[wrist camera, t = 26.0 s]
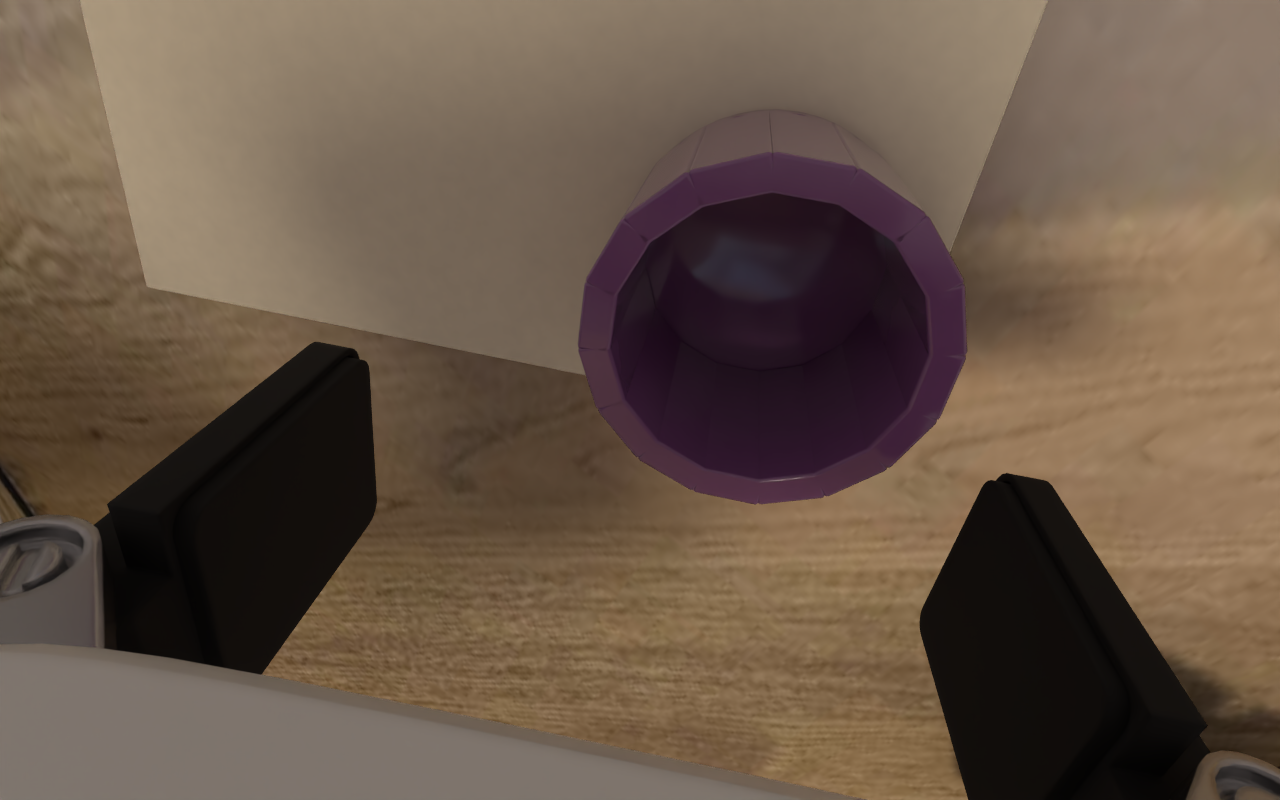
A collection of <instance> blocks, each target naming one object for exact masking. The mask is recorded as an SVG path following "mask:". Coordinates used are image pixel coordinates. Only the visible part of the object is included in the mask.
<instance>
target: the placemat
mask: <svg viewBox="0 0 1280 800" xmlns="http://www.w3.org/2000/svg"><path fill="white" fill-rule="evenodd" d="M1047 3H1048V0H80V5H81V9H82V13H83V17H84V22H85V26H86V30H87V34H88V39H89V43H90V47H91V52H92V56H93V60H94V64H95V69H96V73H97V77H98V81H99V86H100V90H101V94H102V98H103V103H104V107H105V111H106V115H107V120H108V124H109V128H110V132H111V137H112V141H113V145H114V149H115V154H116V158H117V162H118V166H119V171H120V175H121V179H122V183H123V188H124V192H125V196H126V200H127V205H128V209H129V213H130V217H131V222H132V226H133V230H134V234H135V239H136V243H137V247H138V251H139V256H140V260H141V264H142V268H143V273H144V277H145V281H146V285H147V287H149V288H154V289H159V290H164V291H169V292H174V293H179V294H184V295H189V296H194V297H199V298H204V299H209V300H214V301H219V302H224V303H229V304H234V305H239V306H244V307H249V308H254V309H258V310H263V311H268V312H273V313H278V314H283V315H288V316H293V317H298V318H303V319H308V320H313V321H318V322H323V323H328V324H333V325H338V326H343V327H348V328H353V329H358V330H363V331H368V332H372V333H377V334H382V335H387V336H392V337H397V338H402V339H407V340H412V341H417V342H422V343H427V344H432V345H437V346H442V347H447V348H452V349H457V350H462V351H467V352H472V353H477V354H482V355H487V356H491V357H496V358H501V359H506V360H511V361H516V362H521V363H526V364H531V365H536V366H541V367H546V368H551V369H556V370H561V371H566V372H571V373H576V374H581V375H586V374H585V371H584V368H583V365H582V362H581V358H580V355H579V352H578V349H579V347H578V335H579V326H580V317H581V308H582V299H583V290H584V284H585V282H586V277H587V275H588V274H589V272H590V270H591V269H592V267H593V265H594V264H595V262H596V260H597V259H598V257H599V255H600V254H601V252H602V250H603V248H604V247H605V245H606V243H607V242H608V240H609V238H610V237H611V235H612V233H613V232H614V230H615V228H616V227H617V225H618V223H619V221H620V220H621V218H622V217H623V215H624V213H625V212H626V210H627V209H628V207H629V205H630V204H631V202H632V200H633V199H634V197H635V196H636V194H637V192H638V191H639V189H640V188H641V186H642V184H643V183H644V181H645V179H646V178H647V176H648V175H649V173H650V171H651V170H652V168H653V167H654V165H655V164H656V163H658V161H659V159H661V158H662V157H663V156H665V155H666V154H667V153H668V152H669V151H670V150H671V149H672V148H673V147H675V146H676V145H677V144H678V143H679V142H681V141H682V140H683V139H684V138H686V137H687V136H689V135H691V134H692V133H694V132H695V131H697V130H698V129H700V128H702V127H704V126H706V125H708V124H710V123H712V122H715V121H717V120H719V119H722V118H725V117H729V116H732V115H735V114H738V113H744V112H750V111H756V110H775V109H780V110H790V111H799V112H803V113H807V114H811V115H815V116H819V117H821V118H824V119H826V120H829V121H831V122H834V123H836V124H838V125H840V126H841V127H843V128H845V129H846V130H848V131H850V132H851V133H853V134H855V135H856V136H857V137H858V138H860V139H861V140H862V141H863V142H865V143H866V144H867V145H868V146H869V147H871V148H872V149H873V150H875V151H876V152H877V153H879V154H880V155H881V156H882V157H883V158H884V159H885V160H886V162H887V163H888V164H889V165H890V167H891V168H892V169H893V171H894V172H895V173H896V175H897V176H898V177H899V178H900V180H901V181H902V182H903V184H904V185H905V186H906V187H907V189H908V190H909V191H910V193H911V194H912V195H913V196H914V198H915V199H916V200H917V202H918V203H919V204H920V206H921V207H922V208H923V209H924V211H925V212H926V213H927V215H928V216H929V217H930V219H931V221H932V222H933V224H934V226H935V228H936V230H937V232H938V233H939V235H940V237H941V239H942V241H943V242H944V244H945V246H946V248H947V250H948V251H949V253H950V251H951V249H952V246H953V244H954V241H955V238H956V236H957V233H958V231H959V228H960V226H961V223H962V221H963V218H964V215H965V213H966V210H967V208H968V205H969V203H970V200H971V197H972V195H973V192H974V190H975V187H976V185H977V182H978V179H979V177H980V174H981V172H982V169H983V167H984V164H985V162H986V159H987V156H988V154H989V151H990V149H991V146H992V144H993V141H994V138H995V136H996V133H997V131H998V128H999V126H1000V123H1001V121H1002V118H1003V115H1004V113H1005V110H1006V108H1007V105H1008V103H1009V100H1010V97H1011V95H1012V92H1013V90H1014V87H1015V85H1016V82H1017V79H1018V77H1019V74H1020V72H1021V69H1022V67H1023V64H1024V62H1025V59H1026V56H1027V54H1028V51H1029V49H1030V46H1031V44H1032V41H1033V38H1034V36H1035V33H1036V31H1037V28H1038V26H1039V23H1040V21H1041V18H1042V15H1043V13H1044V10H1045V8H1046V5H1047Z"/></svg>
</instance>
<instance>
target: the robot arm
mask: <svg viewBox="0 0 1280 800" xmlns="http://www.w3.org/2000/svg"><path fill="white" fill-rule="evenodd" d="M376 504H377V494H376V477H375V459H374V442H373V425H372V408H371V391H370V373H369V366H368V364H367V362H366V361H365V360H360V359H359V356H358V354H357V351H355V350H354V349H352V348H347V347H342V346H336V345H331V344H326V343H321V342H314V343H312V344H310V345H309V346H307V347H306V348H305V349H304V350H302V351H301V352H300V353H298V354H297V355H296V356H295V357H293V358H292V359H291V360H290V361H288V362H287V363H286V364H284V365H283V366H282V367H281V368H279V369H278V370H277V371H276V372H274V373H273V374H272V375H271V376H269V377H268V378H267V379H265V380H264V381H263V382H262V383H260V384H259V385H258V386H257V387H255V388H254V389H253V390H251V391H250V392H249V393H248V394H246V395H245V396H244V397H243V398H241V399H240V400H239V401H237V402H236V403H235V404H234V405H232V406H231V407H230V408H229V409H227V410H226V411H225V412H224V413H222V414H221V415H220V416H218V417H217V418H216V419H215V420H213V421H212V422H211V423H210V424H208V425H207V426H206V427H204V428H203V429H202V430H201V431H199V432H198V433H197V434H196V435H194V436H193V437H192V438H190V439H189V440H188V441H187V442H185V443H184V444H183V445H182V446H180V447H179V448H178V449H177V450H175V451H174V452H173V453H171V454H170V455H169V456H168V457H166V458H165V459H164V460H163V461H161V462H160V463H159V464H157V465H156V466H155V467H154V468H152V469H151V470H150V471H149V472H147V473H146V474H145V475H143V476H142V477H141V478H140V479H138V480H137V481H136V482H135V483H133V484H132V485H131V486H130V487H128V488H127V489H126V490H124V491H123V492H122V493H121V494H119V495H118V496H117V497H116V498H114V499H113V500H112V501H110V502H109V503H108V504H107V505H108V508H109V512H110V513H108V514H107V515H106V516H105V517H103V518H102V519H101V520H100V521H98V522H97V523H96V524H95V525H92V524H91V523H89V522H88V521H87V520H84V519H80V518H77V517H73V516H69V515H41V516H33V517H25V518H20V519H17V520H13V521H9V522H6V523H2V524H0V800H866V799H861V798H856V797H852V796H847V795H842V794H838V793H833V792H828V791H824V790H819V789H814V788H810V787H805V786H800V785H796V784H791V783H786V782H782V781H777V780H772V779H768V778H763V777H758V776H754V775H749V774H744V773H739V772H735V771H730V770H725V769H720V768H716V767H711V766H706V765H701V764H697V763H692V762H687V761H682V760H677V759H673V758H668V757H663V756H658V755H654V754H649V753H644V752H639V751H634V750H630V749H625V748H620V747H615V746H611V745H606V744H601V743H596V742H591V741H586V740H582V739H577V738H572V737H567V736H562V735H558V734H553V733H548V732H543V731H538V730H534V729H529V728H524V727H519V726H514V725H509V724H505V723H500V722H495V721H490V720H485V719H480V718H475V717H470V716H465V715H460V714H455V713H451V712H446V711H441V710H436V709H431V708H426V707H421V706H416V705H411V704H406V703H401V702H396V701H391V700H386V699H382V698H377V697H372V696H367V695H362V694H357V693H352V692H347V691H342V690H337V689H332V688H327V687H322V686H317V685H312V684H308V683H303V682H298V681H292V680H287V679H281V678H276V677H271V676H265V675H261V674H262V673H263V672H264V670H265V669H266V667H267V666H268V665H269V663H270V662H271V660H272V659H273V658H274V656H275V655H276V653H277V652H278V651H279V649H280V648H281V646H282V645H283V644H284V642H285V641H286V639H287V638H288V637H289V635H290V634H291V632H292V631H293V630H294V628H295V627H296V626H297V624H298V623H299V621H300V620H301V619H302V617H303V616H304V614H305V613H306V612H307V610H308V609H309V607H310V606H311V605H312V603H313V602H314V600H315V599H316V598H317V596H318V595H319V593H320V592H321V591H322V589H323V588H324V586H325V585H326V584H327V582H328V581H329V579H330V578H331V577H332V575H333V574H334V572H335V571H336V570H337V568H338V567H339V565H340V564H341V563H342V561H343V560H344V558H345V557H346V556H347V554H348V553H349V551H350V550H351V549H352V547H353V546H354V545H355V543H356V542H357V540H358V539H359V538H360V536H361V535H362V533H363V532H364V531H365V529H366V528H367V526H368V525H369V523H370V522H371V520H372V518H373V516H374V513H375V509H376ZM920 632H921V636H922V640H923V643H924V647H925V650H926V654H927V657H928V661H929V664H930V668H931V671H932V675H933V678H934V682H935V685H936V689H937V692H938V696H939V699H940V702H941V706H942V709H943V713H944V716H945V720H946V723H947V727H948V730H949V734H950V737H951V741H952V744H953V748H954V751H955V755H956V758H957V762H958V765H959V769H960V772H961V776H962V779H963V783H964V786H965V790H966V793H967V797H968V800H1280V769H1278V768H1277V767H1275V766H1273V765H1271V764H1269V763H1268V762H1266V761H1263V760H1260V759H1258V758H1255V757H1252V756H1249V755H1247V754H1244V753H1240V752H1232V751H1224V750H1221V751H1217V752H1213V753H1210V751H1209V750H1208V748H1207V747H1206V745H1205V743H1204V742H1203V740H1202V739H1201V737H1200V734H1201V733H1202V731H1203V730H1204V729H1205V728H1206V727H1207V726H1208V725H1207V724H1206V722H1205V721H1204V719H1203V718H1202V716H1201V715H1200V713H1199V712H1198V710H1197V708H1196V707H1195V705H1194V704H1193V702H1192V701H1191V699H1190V698H1189V696H1188V695H1187V693H1186V692H1185V690H1184V688H1183V687H1182V685H1181V684H1180V682H1179V681H1178V679H1177V678H1176V676H1175V675H1174V673H1173V671H1172V670H1171V668H1170V667H1169V665H1168V664H1167V662H1166V661H1165V659H1164V658H1163V656H1162V655H1161V653H1160V651H1159V650H1158V648H1157V647H1156V645H1155V644H1154V642H1153V641H1152V639H1151V638H1150V636H1149V634H1148V633H1147V631H1146V630H1145V628H1144V627H1143V625H1142V624H1141V622H1140V621H1139V619H1138V618H1137V616H1136V614H1135V613H1134V611H1133V610H1132V608H1131V607H1130V605H1129V604H1128V602H1127V601H1126V599H1125V597H1124V596H1123V594H1122V593H1121V591H1120V590H1119V588H1118V587H1117V585H1116V584H1115V582H1114V581H1113V579H1112V577H1111V576H1110V574H1109V573H1108V571H1107V570H1106V568H1105V567H1104V565H1103V564H1102V562H1101V560H1100V559H1099V557H1098V556H1097V554H1096V553H1095V551H1094V550H1093V548H1092V547H1091V545H1090V544H1089V542H1088V540H1087V539H1086V537H1085V536H1084V534H1083V533H1082V531H1081V530H1080V528H1079V527H1078V525H1077V523H1076V522H1075V520H1074V519H1073V517H1072V516H1071V514H1070V513H1069V511H1068V510H1067V508H1066V507H1065V505H1064V503H1063V502H1062V500H1061V499H1060V497H1059V496H1058V494H1057V493H1056V491H1055V490H1054V488H1053V486H1052V485H1051V484H1050V483H1049V482H1047V481H1044V480H1040V479H1034V478H1029V477H1024V476H1019V475H1013V474H1008V473H1006V474H1002V475H1001V476H1000V477H999V478H998V479H997V480H996V481H993V480H990V481H987V482H986V483H985V484H984V485H983V487H982V488H981V490H980V492H979V494H978V496H977V499H976V501H975V503H974V505H973V507H972V509H971V511H970V513H969V515H968V517H967V519H966V521H965V523H964V525H963V527H962V529H961V531H960V533H959V535H958V537H957V539H956V541H955V543H954V545H953V547H952V549H951V551H950V553H949V555H948V557H947V559H946V561H945V563H944V565H943V567H942V569H941V571H940V573H939V575H938V577H937V579H936V581H935V584H934V586H933V588H932V590H931V592H930V594H929V596H928V598H927V600H926V602H925V604H924V606H923V608H922V611H921V615H920Z"/></svg>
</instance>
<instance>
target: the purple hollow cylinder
mask: <svg viewBox="0 0 1280 800" xmlns="http://www.w3.org/2000/svg"><path fill="white" fill-rule="evenodd" d="M578 347H579V349H578V352H579V355H580V358H581V362H582V365H583V368H584V371H585V374H586V377H587V381H588V384H589V387H590V390H591V393H592V396H593V400H594V403H595V406H596V408H597V409H598V411H599V413H600V414H601V415H602V417H603V418H604V419H605V420H606V421H607V423H608V424H609V425H610V426H611V427H612V429H613V430H614V431H615V432H616V433H617V435H618V436H619V437H620V438H621V439H622V441H623V442H624V443H625V444H626V445H627V447H628V448H629V449H630V450H631V451H632V453H633V454H634V455H635V456H636V457H638V458H639V460H640V461H642V462H644V463H645V464H647V465H649V466H651V467H652V468H654V469H656V470H657V471H659V472H661V473H663V474H664V475H666V476H668V477H669V478H671V479H673V480H675V481H676V482H678V483H680V484H681V485H683V486H685V487H687V488H688V489H690V490H693V489H694V491H695V492H698V493H703V494H708V495H712V496H717V497H722V498H727V499H732V500H736V501H741V502H746V503H751V504H757V503H759V504H768V503H778V502H787V501H797V500H807V499H816V498H823V497H824V495H825V496H830V495H832V494H834V493H836V492H839V491H841V490H843V489H845V488H848V487H850V486H852V485H854V484H857V483H859V482H861V481H863V480H866V479H868V478H870V477H872V476H874V475H877V474H879V473H881V472H883V471H885V470H886V469H887V468H889V467H891V466H892V465H893V464H894V463H895V462H896V461H897V460H898V459H899V458H900V457H902V456H903V455H904V454H905V453H906V452H907V451H908V450H909V449H910V448H911V447H912V446H913V445H914V444H915V443H916V442H917V441H918V440H919V439H920V438H921V437H922V436H923V435H924V434H925V433H927V432H928V431H929V430H930V429H931V428H932V427H933V426H934V425H935V424H936V422H937V419H939V418H940V416H941V414H942V412H943V410H944V407H945V405H946V403H947V400H948V398H949V396H950V394H951V391H952V389H953V387H954V384H955V382H956V380H957V378H958V375H959V373H960V371H961V369H962V366H963V364H964V362H965V359H966V356H965V355H966V353H967V325H966V293H965V285H964V279H963V277H962V275H961V273H960V271H959V270H958V268H957V266H956V264H955V262H954V261H953V259H952V257H951V255H950V253H949V251H948V250H947V248H946V246H945V244H944V242H943V241H942V239H941V237H940V235H939V233H938V232H937V230H936V228H935V226H934V224H933V222H932V221H931V219H930V217H929V216H928V215H927V213H926V212H925V211H924V209H923V208H922V207H921V206H920V204H919V203H918V202H917V200H916V199H915V198H914V196H913V195H912V194H911V193H910V191H909V190H908V189H907V187H906V186H905V185H904V184H903V182H902V181H901V180H900V178H899V177H898V176H897V175H896V173H895V172H894V171H893V169H892V168H891V167H890V165H889V164H888V163H887V162H886V160H885V159H884V158H883V157H882V156H881V155H880V154H879V153H877V152H876V151H875V150H873V149H872V148H871V147H869V146H868V145H867V144H866V143H865V142H863V141H862V140H861V139H860V138H858V137H857V136H856V135H855V134H853V133H851V132H850V131H848V130H846V129H845V128H843V127H841V126H840V125H838V124H836V123H834V122H831V121H829V120H826V119H824V118H821V117H819V116H815V115H811V114H807V113H803V112H799V111H790V110H780V109H775V110H756V111H750V112H744V113H738V114H735V115H732V116H729V117H725V118H722V119H719V120H717V121H715V122H712V123H710V124H708V125H706V126H704V127H702V128H700V129H698V130H697V131H695V132H694V133H692V134H691V135H689V136H687V137H686V138H684V139H683V140H682V141H681V142H679V143H678V144H677V145H676V146H675V147H673V148H672V149H671V150H670V151H669V152H668V153H667V154H666V155H665V156H663V157H662V158H661V159H659V161H658V163H656V164H655V165H654V167H653V168H652V170H651V171H650V173H649V175H648V176H647V178H646V179H645V181H644V183H643V184H642V186H641V188H640V189H639V191H638V192H637V194H636V196H635V197H634V199H633V200H632V202H631V204H630V205H629V207H628V209H627V210H626V212H625V213H624V215H623V217H622V218H621V220H620V221H619V223H618V225H617V227H616V228H615V230H614V232H613V233H612V235H611V237H610V238H609V240H608V242H607V243H606V245H605V247H604V248H603V250H602V252H601V254H600V255H599V257H598V259H597V260H596V262H595V264H594V265H593V267H592V269H591V270H590V272H589V274H588V275H587V277H586V282H585V284H584V290H583V299H582V308H581V317H580V326H579V335H578Z"/></svg>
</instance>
